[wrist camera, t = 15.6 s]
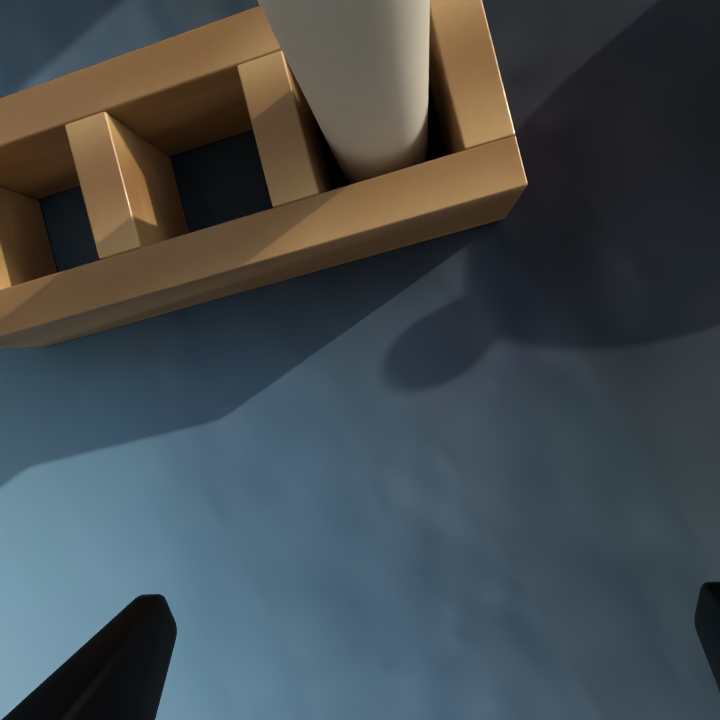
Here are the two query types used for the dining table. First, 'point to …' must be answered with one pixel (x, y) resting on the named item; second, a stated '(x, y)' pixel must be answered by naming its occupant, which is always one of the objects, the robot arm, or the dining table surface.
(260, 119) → the tube rack
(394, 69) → the test tube
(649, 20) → the dining table surface
